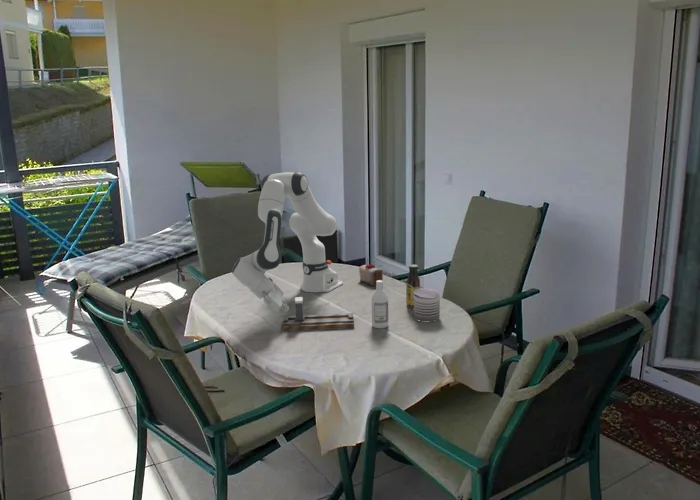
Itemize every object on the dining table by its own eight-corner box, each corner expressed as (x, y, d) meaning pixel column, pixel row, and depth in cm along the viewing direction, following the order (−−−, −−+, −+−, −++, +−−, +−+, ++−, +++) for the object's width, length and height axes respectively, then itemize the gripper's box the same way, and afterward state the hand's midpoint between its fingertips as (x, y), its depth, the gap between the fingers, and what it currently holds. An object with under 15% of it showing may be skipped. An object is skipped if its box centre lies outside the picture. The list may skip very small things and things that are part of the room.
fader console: (283, 331, 269) (282, 323, 268) (284, 321, 281) (283, 313, 280) (354, 328, 271) (354, 320, 270) (352, 317, 282) (352, 310, 281)
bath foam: (391, 327, 271) (390, 282, 266) (376, 330, 268) (376, 284, 263) (383, 321, 277) (382, 277, 272) (369, 324, 274) (368, 280, 269)
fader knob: (295, 322, 272) (293, 301, 269) (295, 318, 277) (294, 297, 274) (304, 322, 272) (303, 300, 270) (304, 318, 277) (303, 296, 275)
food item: (357, 281, 335) (356, 262, 332) (369, 278, 339) (369, 260, 337) (372, 287, 324) (372, 268, 321) (385, 284, 328) (385, 265, 326)
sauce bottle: (405, 304, 297) (405, 263, 292) (418, 303, 298) (418, 262, 293) (407, 309, 291) (407, 267, 286) (421, 308, 292) (421, 266, 286)
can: (424, 311, 288) (424, 286, 285) (444, 317, 280) (445, 291, 277) (408, 318, 280) (408, 292, 277) (428, 324, 273) (428, 297, 269)
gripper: (267, 291, 259) (292, 312, 262) (270, 276, 279) (293, 296, 282) (256, 301, 260) (282, 323, 263) (260, 286, 280) (284, 306, 283)
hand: (288, 309), depth 273 cm, fingers closed
